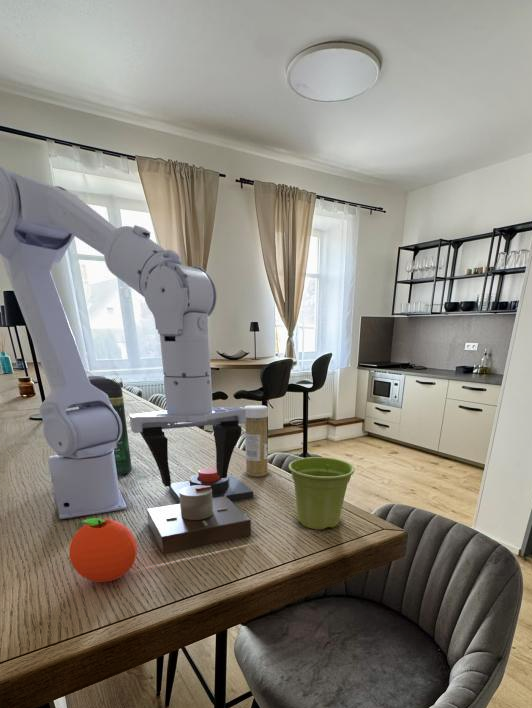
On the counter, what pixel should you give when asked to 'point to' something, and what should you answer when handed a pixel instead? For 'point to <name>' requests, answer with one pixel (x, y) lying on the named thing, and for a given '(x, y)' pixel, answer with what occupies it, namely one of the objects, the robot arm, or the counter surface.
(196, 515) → the dial
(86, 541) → the clementine
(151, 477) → the counter surface
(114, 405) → the coffee jar
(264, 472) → the spice jar
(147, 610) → the counter surface
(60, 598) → the counter surface
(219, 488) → the switch block
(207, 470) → the switch button
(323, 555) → the counter surface
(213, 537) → the dimmer plate
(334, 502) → the plant pot
